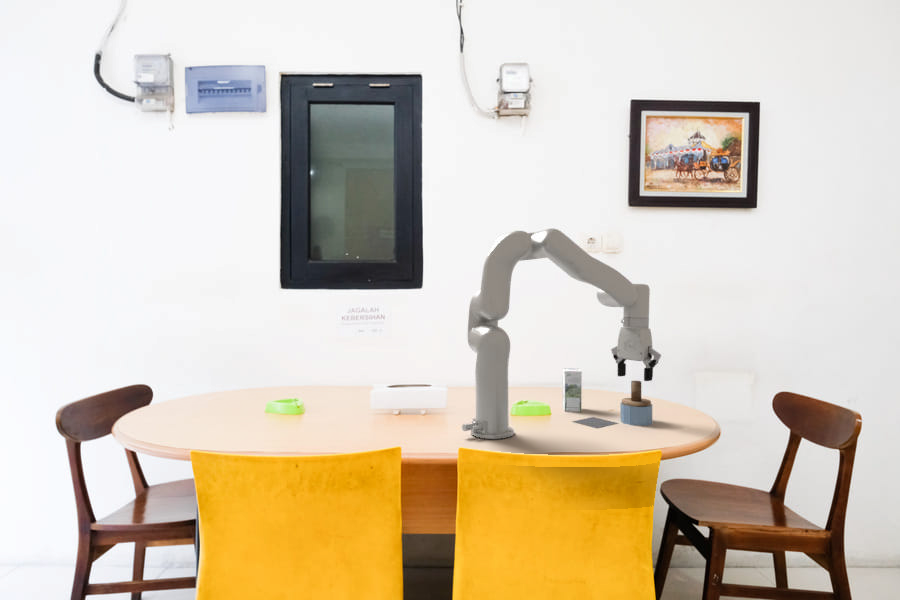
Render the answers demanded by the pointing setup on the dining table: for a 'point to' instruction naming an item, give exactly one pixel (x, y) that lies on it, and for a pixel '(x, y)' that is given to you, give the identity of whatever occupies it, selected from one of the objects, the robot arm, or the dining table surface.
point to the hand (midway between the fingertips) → (634, 378)
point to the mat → (595, 422)
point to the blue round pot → (636, 415)
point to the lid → (636, 396)
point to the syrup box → (572, 389)
